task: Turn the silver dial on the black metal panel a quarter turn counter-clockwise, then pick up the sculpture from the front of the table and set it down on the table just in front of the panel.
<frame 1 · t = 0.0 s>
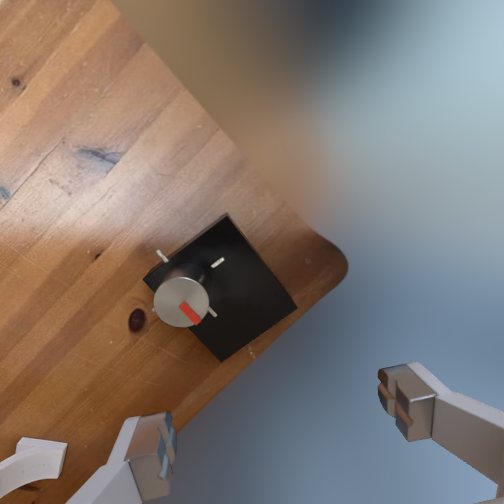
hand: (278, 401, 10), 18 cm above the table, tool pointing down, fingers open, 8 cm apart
headphone stand: (39, 452, 31), on the table
panel: (223, 283, 28), on the table
dial: (184, 293, 22), point 5 cm above the table, hinge at 0.0°
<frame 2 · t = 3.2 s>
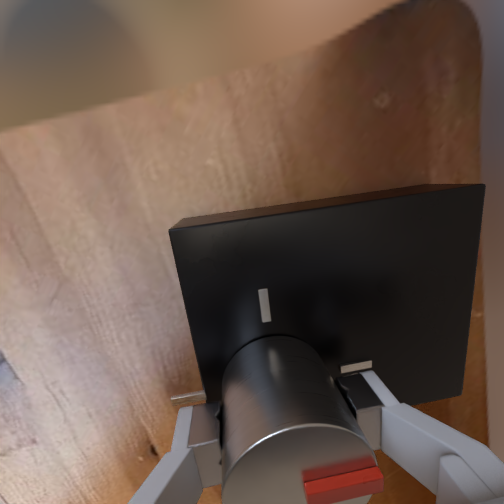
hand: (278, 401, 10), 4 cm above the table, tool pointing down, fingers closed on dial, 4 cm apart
panel: (314, 296, 13), on the table
dial: (286, 427, 9), point 5 cm above the table, hinge at 0.2°, touching gripper
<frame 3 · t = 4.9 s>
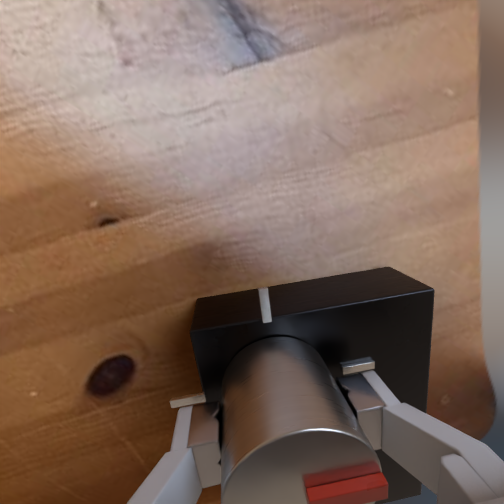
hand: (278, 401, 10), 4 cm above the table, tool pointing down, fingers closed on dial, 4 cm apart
panel: (304, 378, 14), on the table
dial: (287, 430, 8), point 5 cm above the table, hinge at 89.4°, touching gripper
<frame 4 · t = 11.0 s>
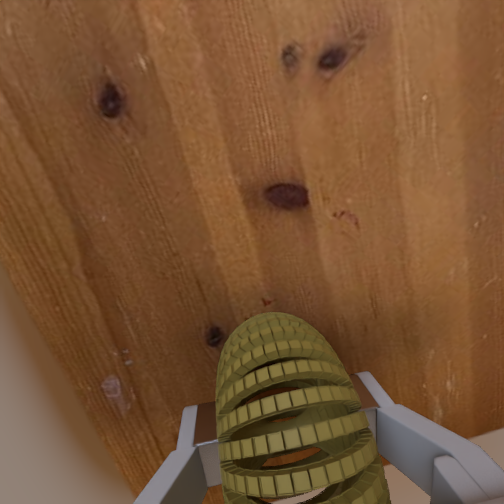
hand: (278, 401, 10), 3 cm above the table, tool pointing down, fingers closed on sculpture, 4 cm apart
sculpture: (266, 353, 13), on the table, touching gripper
when the fingers open (3 cm above the table, at t = 19.1 s): sculpture stays where it is, on the table.
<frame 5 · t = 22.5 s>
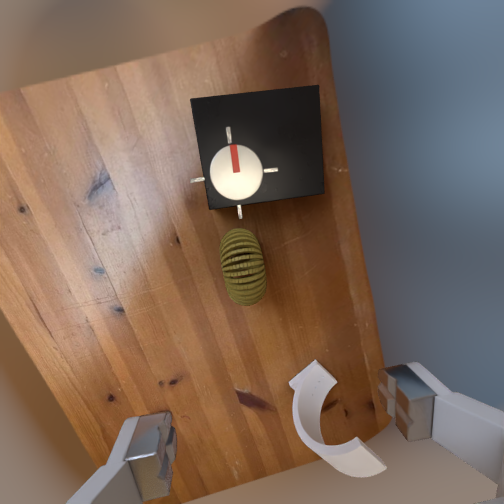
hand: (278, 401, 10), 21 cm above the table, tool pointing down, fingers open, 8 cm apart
sculpture: (240, 255, 30), on the table
headphone stand: (308, 381, 36), on the table
panel: (258, 153, 27), on the table
dial: (235, 174, 23), point 5 cm above the table, hinge at 89.5°
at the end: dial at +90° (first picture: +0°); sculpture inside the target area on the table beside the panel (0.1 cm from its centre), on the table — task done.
